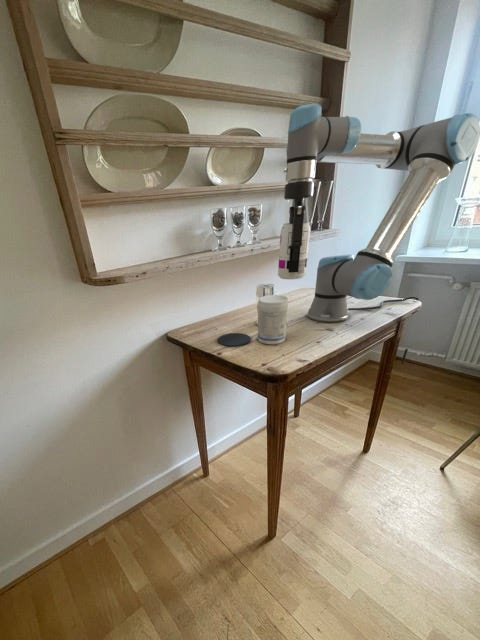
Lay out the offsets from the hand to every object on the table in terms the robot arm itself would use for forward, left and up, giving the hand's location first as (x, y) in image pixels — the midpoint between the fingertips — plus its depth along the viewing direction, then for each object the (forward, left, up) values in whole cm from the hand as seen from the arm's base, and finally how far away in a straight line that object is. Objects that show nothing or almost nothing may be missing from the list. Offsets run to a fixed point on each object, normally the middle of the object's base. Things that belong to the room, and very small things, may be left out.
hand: (291, 269), depth 93 cm
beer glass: (-4, -19, -24) cm, 31 cm away
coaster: (+15, -11, -23) cm, 30 cm away
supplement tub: (+4, -3, -24) cm, 24 cm away
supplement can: (0, 0, -2) cm, 2 cm away
